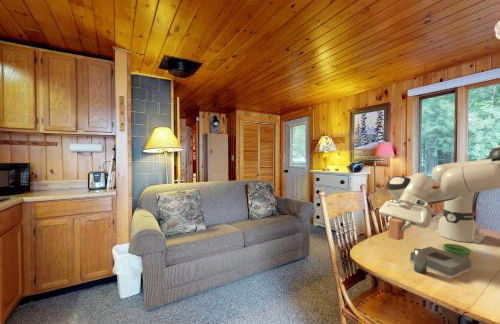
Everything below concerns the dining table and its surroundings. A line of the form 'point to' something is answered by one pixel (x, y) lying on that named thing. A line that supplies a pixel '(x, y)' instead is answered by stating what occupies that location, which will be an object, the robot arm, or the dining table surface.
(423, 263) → the cylinder
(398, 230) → the square bit
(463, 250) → the ramekin
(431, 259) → the holder block
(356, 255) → the dining table surface
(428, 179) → the robot arm
